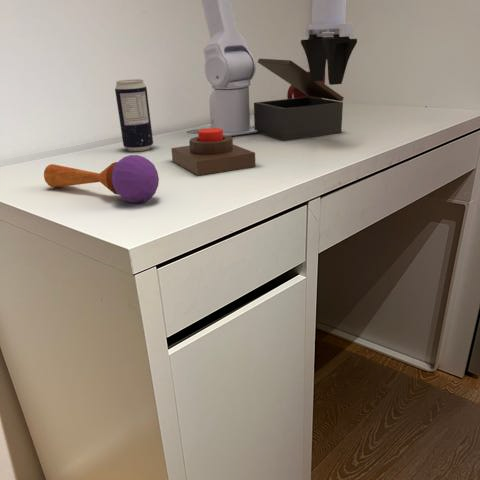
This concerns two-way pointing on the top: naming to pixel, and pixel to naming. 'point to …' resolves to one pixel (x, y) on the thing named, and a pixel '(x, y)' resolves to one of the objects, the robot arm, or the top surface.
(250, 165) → the panel
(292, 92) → the mug
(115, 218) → the top surface
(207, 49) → the robot arm
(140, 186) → the purple maraca
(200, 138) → the button
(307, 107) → the dark gray box
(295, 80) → the brown box lid
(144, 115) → the beverage can
